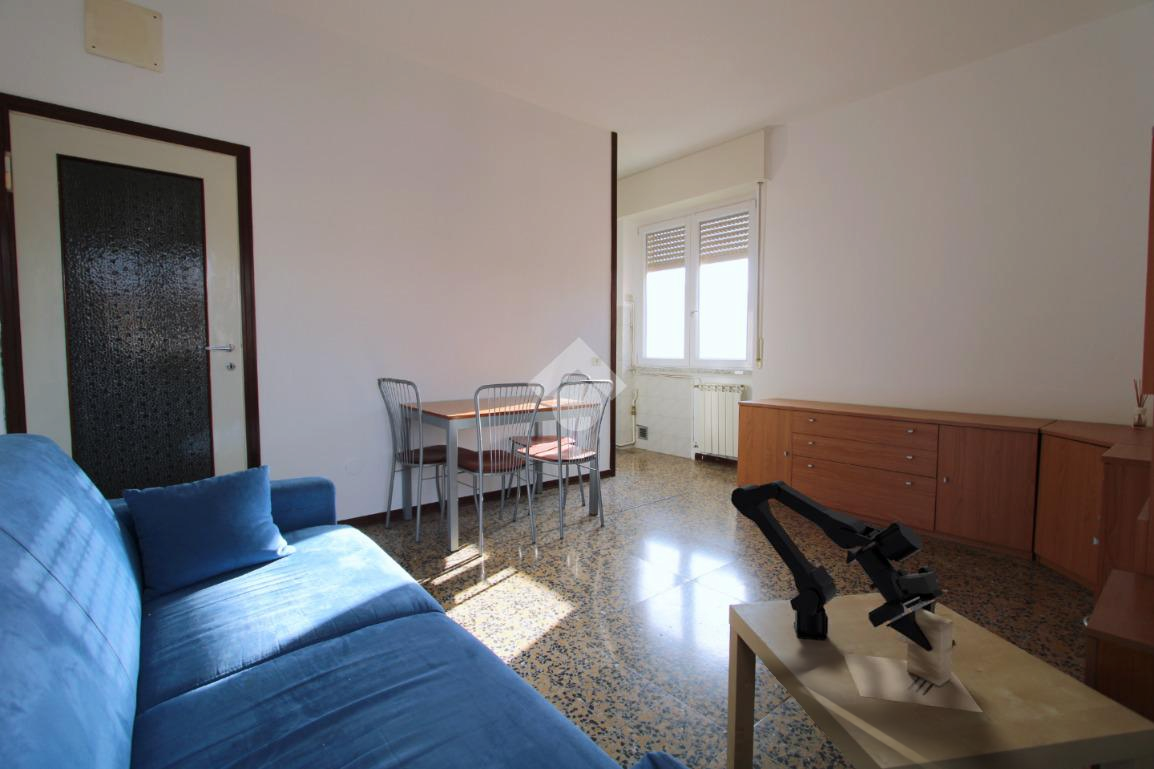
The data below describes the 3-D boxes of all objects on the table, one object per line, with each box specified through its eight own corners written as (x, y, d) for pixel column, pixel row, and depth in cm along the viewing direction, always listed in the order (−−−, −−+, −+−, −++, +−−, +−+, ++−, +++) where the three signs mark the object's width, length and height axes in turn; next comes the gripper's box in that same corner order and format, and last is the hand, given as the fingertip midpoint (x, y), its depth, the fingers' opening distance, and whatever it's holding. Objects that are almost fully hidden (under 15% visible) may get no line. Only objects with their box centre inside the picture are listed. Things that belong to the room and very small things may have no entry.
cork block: (907, 671, 108) (908, 613, 107) (918, 664, 110) (920, 608, 109) (939, 687, 103) (941, 626, 102) (951, 679, 105) (952, 620, 104)
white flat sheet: (860, 702, 101) (860, 696, 101) (842, 658, 115) (842, 652, 115) (982, 718, 96) (983, 712, 96) (947, 670, 110) (948, 664, 110)
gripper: (884, 564, 104) (945, 646, 95) (934, 546, 113) (994, 618, 104) (845, 589, 111) (899, 666, 102) (895, 569, 120) (948, 639, 111)
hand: (937, 646), depth 105 cm, fingers closed on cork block, 4 cm apart
